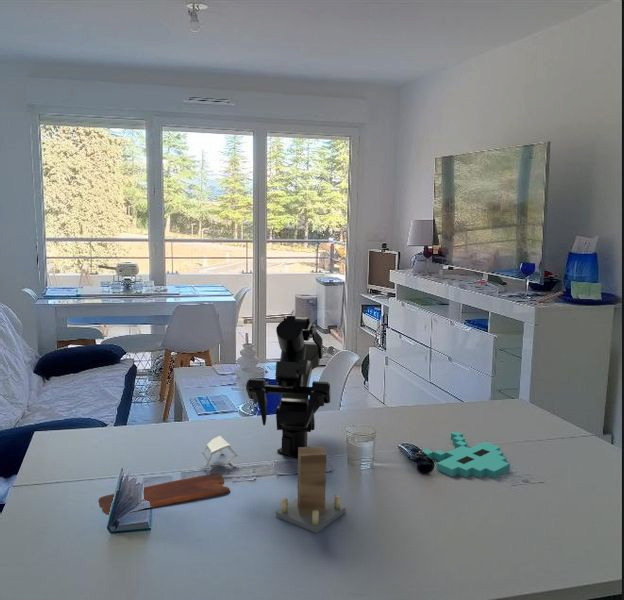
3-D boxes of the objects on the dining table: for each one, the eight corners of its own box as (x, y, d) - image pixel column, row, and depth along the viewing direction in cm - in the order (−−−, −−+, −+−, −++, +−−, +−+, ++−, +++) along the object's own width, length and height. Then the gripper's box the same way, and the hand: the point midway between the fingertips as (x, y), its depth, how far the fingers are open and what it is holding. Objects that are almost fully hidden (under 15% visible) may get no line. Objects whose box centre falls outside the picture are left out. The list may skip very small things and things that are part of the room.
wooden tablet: (219, 476, 138) (219, 469, 138) (232, 496, 129) (232, 489, 129) (97, 497, 128) (96, 490, 127) (101, 520, 119) (101, 513, 118)
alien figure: (407, 459, 149) (476, 489, 134) (407, 450, 149) (477, 479, 134) (455, 439, 162) (524, 464, 147) (456, 431, 162) (524, 455, 147)
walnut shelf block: (297, 505, 123) (298, 447, 121) (321, 504, 124) (323, 446, 121) (299, 515, 119) (300, 455, 117) (324, 514, 120) (326, 454, 118)
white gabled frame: (239, 471, 140) (239, 451, 139) (203, 474, 138) (202, 453, 138) (234, 450, 152) (234, 431, 151) (200, 452, 150) (200, 433, 149)
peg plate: (305, 497, 128) (305, 481, 128) (345, 511, 123) (345, 495, 122) (275, 516, 120) (276, 500, 120) (316, 533, 115) (317, 516, 114)
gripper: (247, 343, 135) (236, 407, 126) (330, 347, 133) (325, 412, 124) (254, 367, 144) (244, 429, 135) (332, 371, 142) (327, 434, 133)
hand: (284, 425), depth 132 cm, fingers open, 9 cm apart
